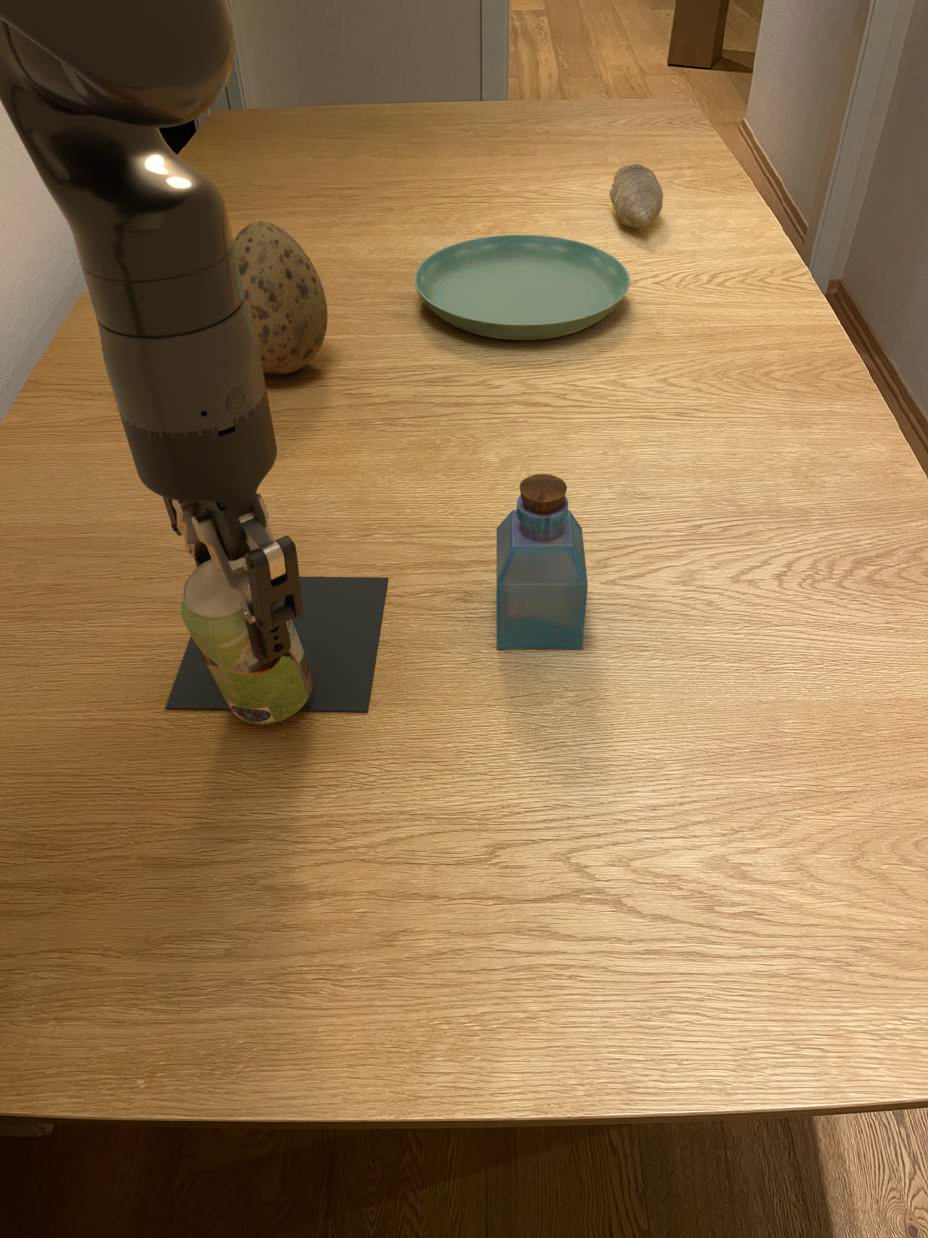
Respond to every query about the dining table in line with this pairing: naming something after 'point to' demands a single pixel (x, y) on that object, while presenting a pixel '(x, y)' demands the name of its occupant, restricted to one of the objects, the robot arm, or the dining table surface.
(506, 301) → the saucer
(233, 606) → the beverage can
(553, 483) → the perfume bottle
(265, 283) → the decorative egg
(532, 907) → the dining table surface
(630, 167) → the seashell
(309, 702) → the mat
